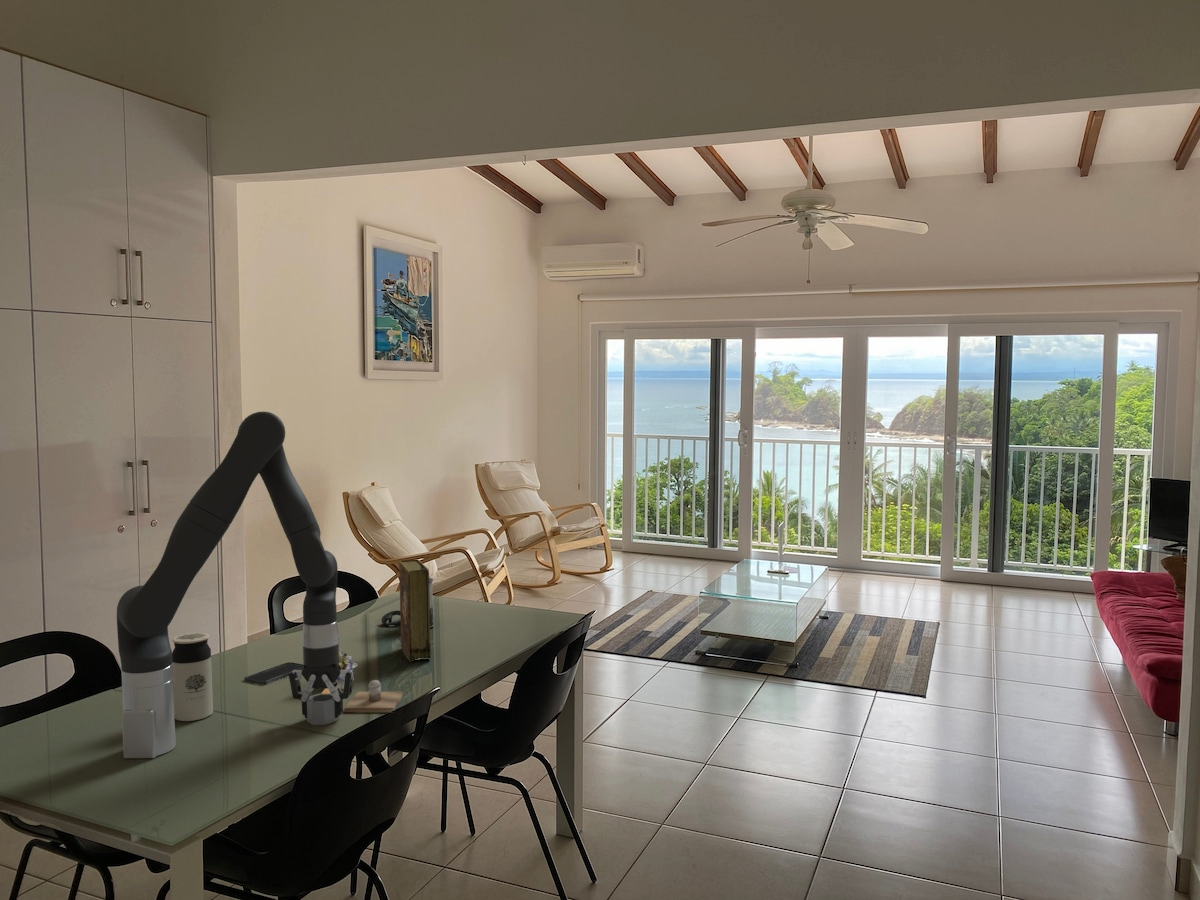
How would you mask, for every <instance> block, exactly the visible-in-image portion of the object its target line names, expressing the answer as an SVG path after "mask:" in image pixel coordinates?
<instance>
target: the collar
mask: <svg viewBox="0 0 1200 900" xmlns="http://www.w3.org/2000/svg"><path fill="white" fill-rule="evenodd" d="M334 702H335V699H334V697H333V695H332V693H330V691H329V689H323V691H322V692H320V693H316V694H311V695H310V697H309V698H308V699H307V718H306V721H307V724H308V723H309V725H311V726H325V725H329V724H333V723H335V722H336V721H337V720H338V719H339V717H338V718H335V706H334Z"/></svg>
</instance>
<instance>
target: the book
mask: <svg viewBox="0 0 1200 900" xmlns="http://www.w3.org/2000/svg"><path fill="white" fill-rule="evenodd" d="M398 565H399V568H398V569H399V606H400V607H399V608H400V609H399V611H400V615H399V616H400V618H399V619H400V620H401V624H400V648H401V647H402V649H403V651H404V653H405V654H406V656H407V657H408V659H409V661H412V660H415V659H418V658H431V655H432V654H431V653H432V652H431V650H432V649H431V629H430V602H429V578H430V571H429V568H428V567H427V566H426V565H425V564H424V563H423V562H422V561H421V560H419V559H402V560H399V561H398ZM402 649H401V650H402ZM403 651H402V652H403ZM404 653H403V654H404ZM405 654H404V655H405ZM406 656H405V657H406ZM408 659H407V660H408ZM409 661H408V662H409Z"/></svg>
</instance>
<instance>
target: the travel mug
mask: <svg viewBox="0 0 1200 900" xmlns="http://www.w3.org/2000/svg"><path fill="white" fill-rule="evenodd" d="M209 638H210V635H209V634H208V633H206V632H191V633H190V632H189V633H183V634H179V635H176V636H174V637H173V638H172V642H173V646H174V648H173V650H172V665H173V692H174V718H175V720H177V721H179V722H195V720H196V721H199V720H200V721H201V720H204V719H205V718H207V717H208V718H209V716H211V715H212V714H214V704H213V703H214V702H213V701H214V699H213V677H212V676H213V675H212V674H213V673H212V672H213V671H212V670H213V669H212V650H211V647H210V646H209V644H208V640H209Z"/></svg>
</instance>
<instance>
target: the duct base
mask: <svg viewBox="0 0 1200 900" xmlns="http://www.w3.org/2000/svg"><path fill="white" fill-rule="evenodd" d="M403 695H404V696H405V691H382V684H381V682H380V680H378V679H373V680H371V681H370V682H369V683H368V691H356V694H355V695H354V696H353V697H352V698H351V700H350V701H349V702H348V703H347V704H346V706H344V707H343V710H344V713H345V712H350V714H351V712H353V713H354V712H355V713H390V712H389V711H391V710H393V709H395V708H396V709H397V707H398V706H399V704H400V703H399V701H400V700H401V698H402V696H403ZM402 699H403V698H402ZM401 701H402V700H401ZM401 701H400V702H401ZM398 703H399V704H398ZM397 705H398V706H397ZM396 709H395V710H396Z"/></svg>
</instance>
